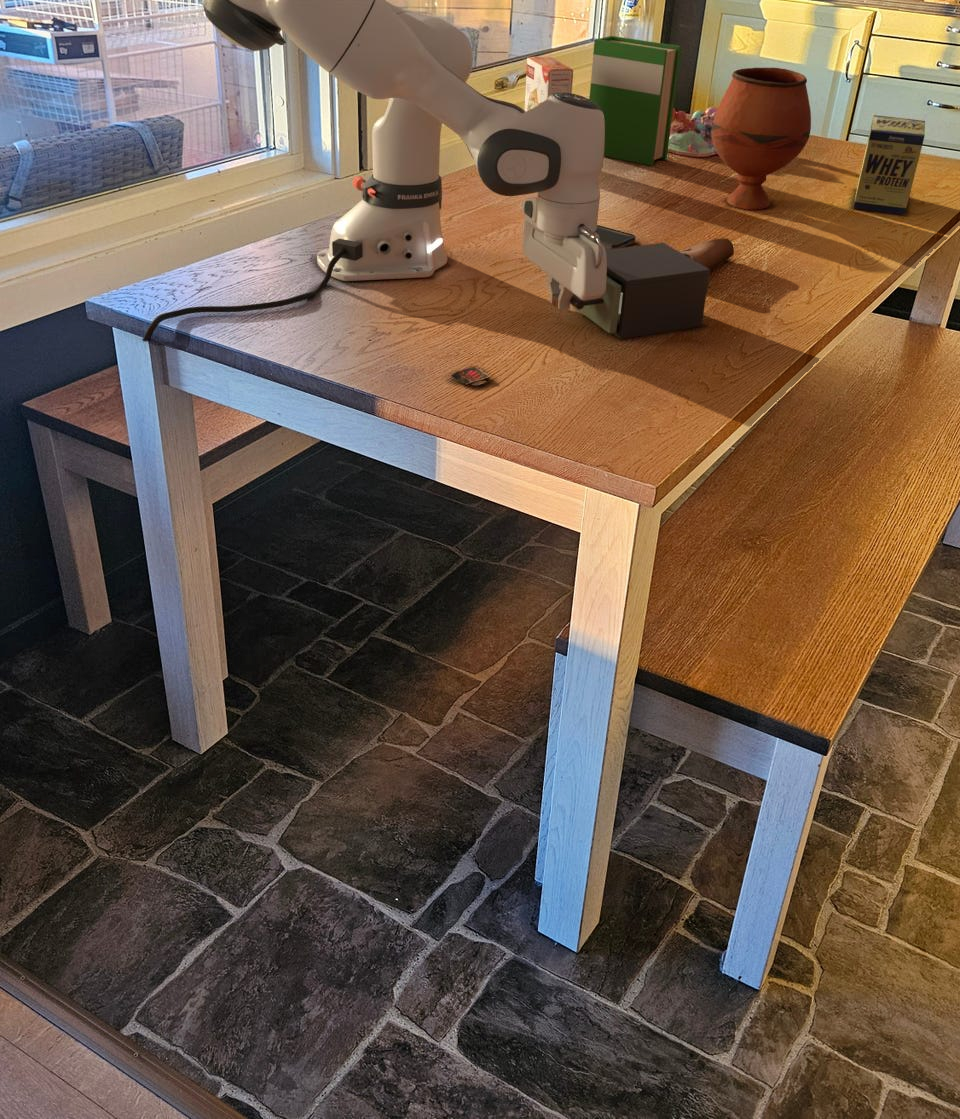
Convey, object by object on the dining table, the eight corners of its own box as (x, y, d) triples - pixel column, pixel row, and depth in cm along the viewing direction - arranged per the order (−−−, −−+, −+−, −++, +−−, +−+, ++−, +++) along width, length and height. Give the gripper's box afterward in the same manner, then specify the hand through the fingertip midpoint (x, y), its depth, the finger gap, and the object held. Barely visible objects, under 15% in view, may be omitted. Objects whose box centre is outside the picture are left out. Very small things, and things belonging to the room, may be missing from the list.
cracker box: (520, 154, 250) (526, 56, 238) (545, 153, 251) (551, 55, 240) (541, 171, 239) (548, 68, 227) (566, 170, 240) (575, 68, 229)
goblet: (697, 212, 218) (717, 78, 204) (704, 186, 233) (723, 60, 219) (795, 222, 214) (821, 87, 200) (795, 195, 230) (820, 68, 216)
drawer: (582, 337, 161) (586, 290, 157) (545, 309, 170) (548, 263, 166) (685, 322, 168) (692, 276, 163) (644, 295, 176) (650, 251, 172)
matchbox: (447, 378, 150) (447, 375, 149) (471, 367, 153) (471, 363, 153) (473, 388, 147) (473, 385, 147) (497, 376, 151) (497, 373, 150)
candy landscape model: (703, 129, 277) (709, 90, 271) (777, 149, 262) (785, 109, 257) (635, 142, 263) (640, 101, 258) (710, 164, 249) (716, 122, 243)
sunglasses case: (688, 248, 198) (711, 220, 193) (717, 274, 197) (740, 246, 193) (648, 276, 185) (672, 247, 180) (679, 304, 184) (702, 276, 180)
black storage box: (620, 339, 163) (627, 280, 158) (578, 308, 173) (583, 252, 168) (701, 326, 169) (710, 269, 163) (656, 297, 178) (663, 242, 173)
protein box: (852, 209, 223) (870, 130, 214) (856, 189, 235) (873, 114, 227) (905, 216, 221) (925, 136, 212) (906, 195, 233) (925, 119, 224)
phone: (571, 217, 208) (638, 235, 200) (571, 223, 208) (637, 241, 201) (547, 227, 203) (614, 245, 195) (546, 233, 203) (614, 251, 196)
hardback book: (666, 159, 251) (681, 46, 237) (651, 165, 246) (665, 50, 232) (600, 145, 259) (611, 35, 246) (584, 151, 254) (594, 39, 240)
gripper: (622, 235, 149) (612, 330, 157) (554, 194, 164) (548, 282, 172) (582, 240, 147) (573, 336, 155) (517, 197, 162) (512, 286, 170)
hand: (559, 307), depth 164 cm, fingers closed, pressing on drawer
